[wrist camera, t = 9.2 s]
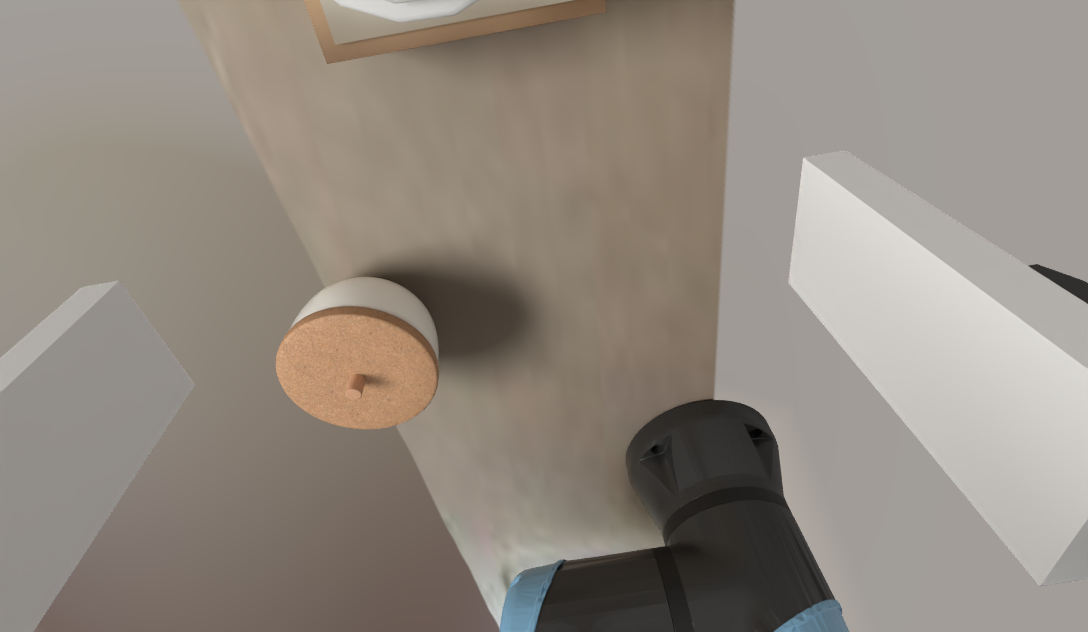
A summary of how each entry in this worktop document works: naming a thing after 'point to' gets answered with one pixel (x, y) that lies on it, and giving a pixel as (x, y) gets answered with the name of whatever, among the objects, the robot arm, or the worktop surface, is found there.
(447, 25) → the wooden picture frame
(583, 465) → the worktop surface
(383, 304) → the lidded jar
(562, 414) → the worktop surface
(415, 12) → the coffee cup
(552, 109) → the worktop surface
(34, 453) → the robot arm
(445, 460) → the worktop surface
